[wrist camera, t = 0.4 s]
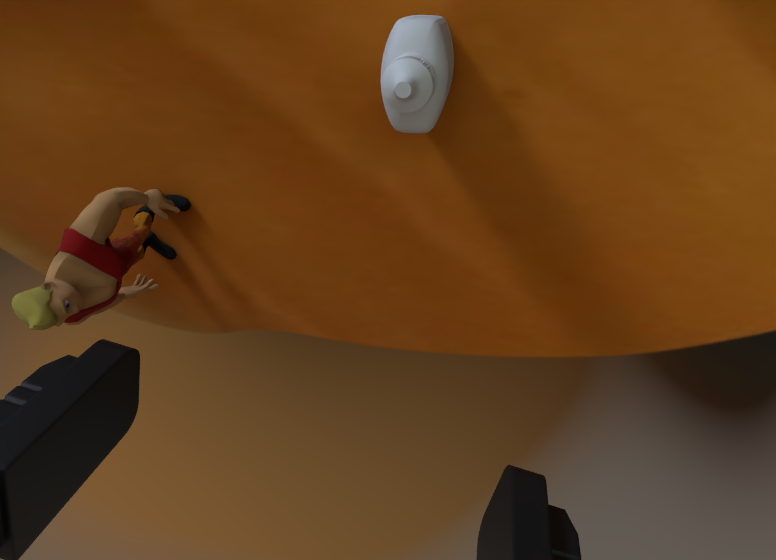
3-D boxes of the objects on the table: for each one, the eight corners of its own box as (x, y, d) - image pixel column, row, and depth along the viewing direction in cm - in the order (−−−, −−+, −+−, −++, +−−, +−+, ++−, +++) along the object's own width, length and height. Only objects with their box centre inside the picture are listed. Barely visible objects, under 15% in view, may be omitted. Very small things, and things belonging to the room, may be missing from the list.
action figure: (175, 285, 45) (45, 402, 32) (132, 265, 45) (-17, 375, 32) (206, 177, 41) (72, 260, 28) (159, 155, 41) (1, 228, 27)
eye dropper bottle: (481, 42, 35) (482, 58, 24) (431, 123, 37) (412, 171, 27) (420, 1, 34) (392, -2, 24) (373, 86, 37) (329, 119, 26)
